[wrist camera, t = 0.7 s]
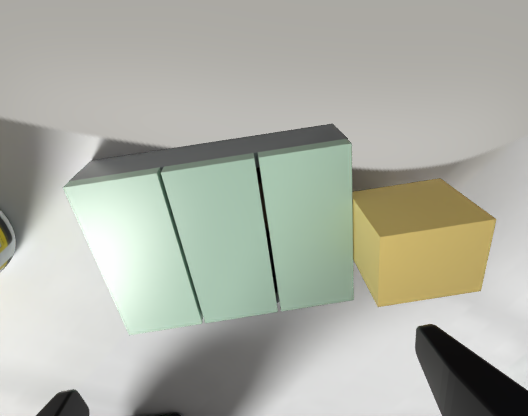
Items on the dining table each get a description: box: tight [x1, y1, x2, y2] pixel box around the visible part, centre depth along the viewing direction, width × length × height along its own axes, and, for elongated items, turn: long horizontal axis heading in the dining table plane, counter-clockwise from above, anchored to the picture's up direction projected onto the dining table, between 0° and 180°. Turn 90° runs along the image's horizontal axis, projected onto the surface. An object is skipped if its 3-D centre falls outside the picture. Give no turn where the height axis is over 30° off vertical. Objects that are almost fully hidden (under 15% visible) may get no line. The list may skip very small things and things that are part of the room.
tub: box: [70, 124, 348, 303], centre depth 21 cm, size 10×14×3 cm
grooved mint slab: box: [63, 139, 496, 335], centre depth 17 cm, size 10×19×4 cm, turn 98°
